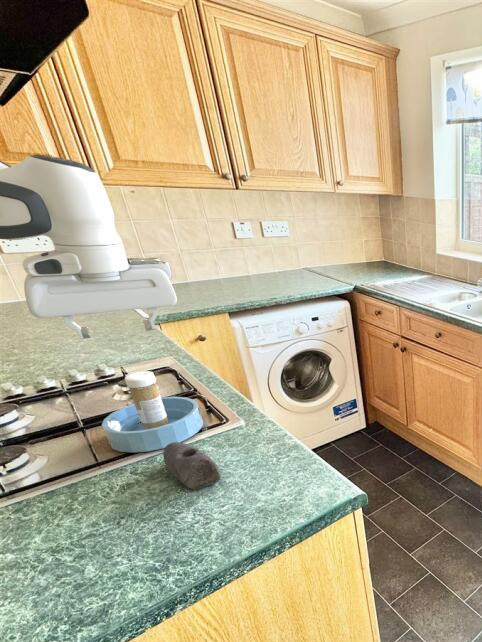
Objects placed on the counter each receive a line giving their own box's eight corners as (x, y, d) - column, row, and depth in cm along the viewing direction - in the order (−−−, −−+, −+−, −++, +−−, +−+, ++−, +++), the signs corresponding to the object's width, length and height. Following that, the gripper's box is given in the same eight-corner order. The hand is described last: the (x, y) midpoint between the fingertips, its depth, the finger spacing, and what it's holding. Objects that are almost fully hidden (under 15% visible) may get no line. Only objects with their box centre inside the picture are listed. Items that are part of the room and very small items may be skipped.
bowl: (93, 460, 81) (83, 436, 79) (136, 420, 95) (128, 399, 93) (186, 452, 85) (179, 429, 83) (214, 415, 99) (208, 394, 97)
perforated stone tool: (158, 469, 80) (147, 438, 77) (190, 457, 84) (180, 427, 81) (194, 502, 73) (183, 469, 70) (226, 486, 77) (217, 455, 74)
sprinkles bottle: (145, 429, 90) (124, 373, 84) (171, 424, 93) (153, 368, 87) (144, 439, 87) (123, 381, 81) (172, 433, 89) (153, 376, 84)
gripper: (164, 254, 83) (182, 321, 89) (10, 259, 70) (43, 337, 76) (170, 259, 79) (188, 329, 85) (9, 266, 66) (43, 348, 72)
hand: (119, 333), depth 80 cm, fingers open, 8 cm apart
